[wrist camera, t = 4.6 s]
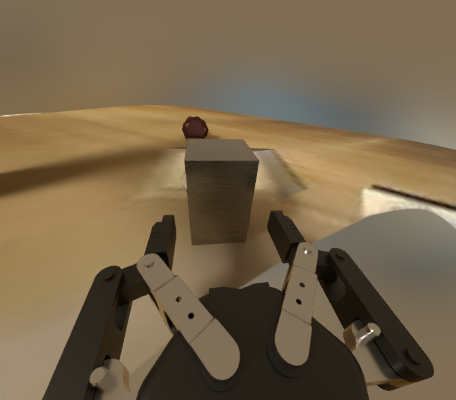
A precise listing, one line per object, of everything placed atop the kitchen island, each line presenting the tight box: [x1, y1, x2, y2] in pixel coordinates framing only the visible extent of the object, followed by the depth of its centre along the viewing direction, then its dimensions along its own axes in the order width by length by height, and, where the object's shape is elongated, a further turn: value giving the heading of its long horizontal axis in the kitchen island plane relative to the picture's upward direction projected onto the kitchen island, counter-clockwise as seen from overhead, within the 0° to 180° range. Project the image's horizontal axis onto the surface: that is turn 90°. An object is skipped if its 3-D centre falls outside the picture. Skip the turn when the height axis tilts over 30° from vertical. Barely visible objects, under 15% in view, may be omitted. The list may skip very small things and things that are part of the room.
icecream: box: [182, 117, 209, 140], centre depth 49 cm, size 7×7×15 cm
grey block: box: [185, 139, 259, 245], centre depth 20 cm, size 6×6×10 cm
